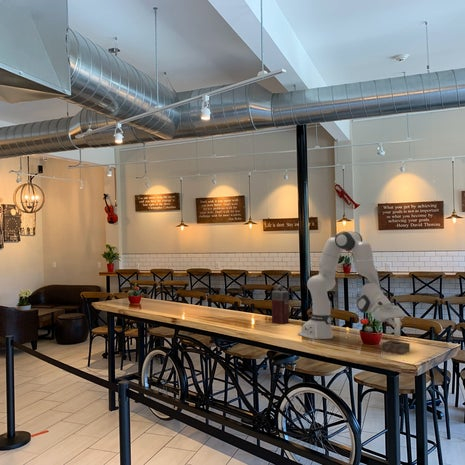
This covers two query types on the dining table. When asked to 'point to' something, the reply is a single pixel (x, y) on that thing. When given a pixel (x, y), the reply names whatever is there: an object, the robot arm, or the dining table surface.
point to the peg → (397, 327)
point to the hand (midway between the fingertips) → (398, 325)
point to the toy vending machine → (280, 306)
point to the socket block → (396, 347)
